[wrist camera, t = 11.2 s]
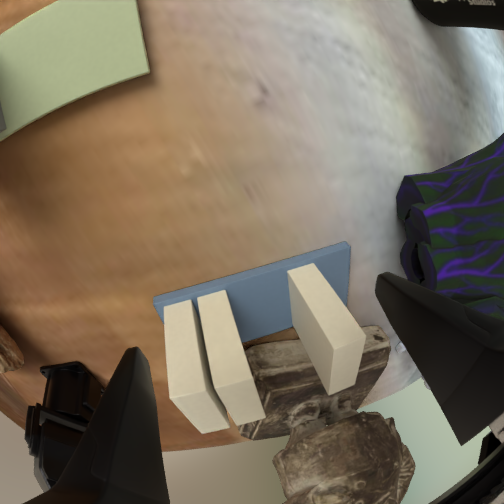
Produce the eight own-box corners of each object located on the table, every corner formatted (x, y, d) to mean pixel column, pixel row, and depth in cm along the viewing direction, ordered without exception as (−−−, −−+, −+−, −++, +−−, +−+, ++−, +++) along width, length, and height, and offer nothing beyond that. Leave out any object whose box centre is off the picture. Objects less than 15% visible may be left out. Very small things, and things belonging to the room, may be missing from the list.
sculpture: (380, 321, 35) (496, 498, 10) (340, 390, 43) (413, 531, 19) (244, 343, 30) (346, 608, 5) (232, 412, 38) (291, 588, 14)
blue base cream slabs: (182, 351, 28) (195, 437, 20) (153, 296, 24) (155, 397, 16) (342, 301, 30) (390, 370, 22) (345, 241, 26) (411, 311, 18)
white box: (292, 323, 29) (328, 395, 21) (286, 270, 25) (333, 349, 17) (314, 316, 29) (354, 384, 21) (313, 262, 25) (366, 335, 18)
